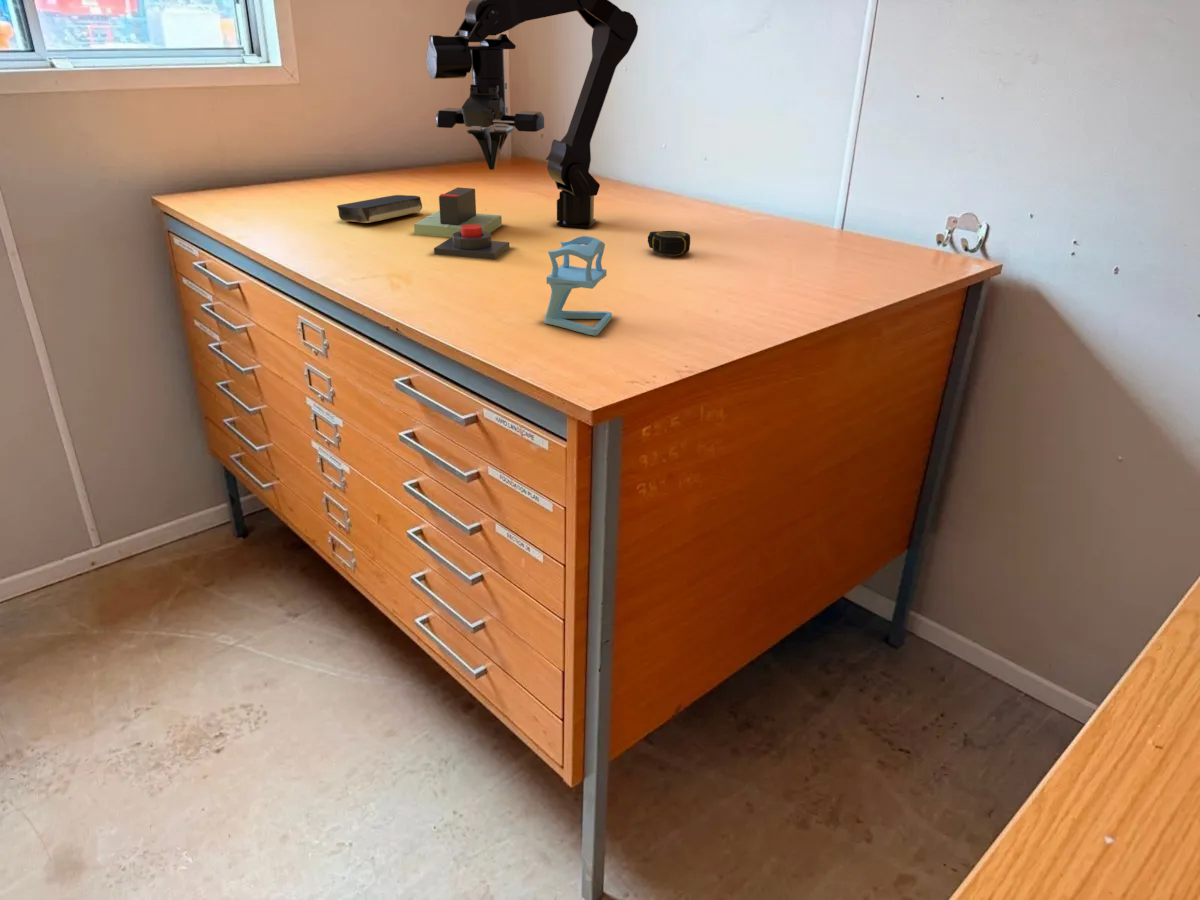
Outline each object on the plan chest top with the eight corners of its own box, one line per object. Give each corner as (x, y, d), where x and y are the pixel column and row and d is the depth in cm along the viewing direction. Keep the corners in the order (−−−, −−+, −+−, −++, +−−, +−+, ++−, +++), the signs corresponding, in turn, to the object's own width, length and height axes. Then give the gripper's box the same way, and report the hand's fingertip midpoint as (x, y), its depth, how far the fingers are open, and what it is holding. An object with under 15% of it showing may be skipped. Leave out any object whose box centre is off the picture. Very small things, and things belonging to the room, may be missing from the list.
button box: (509, 248, 155) (509, 231, 154) (494, 260, 148) (494, 242, 147) (451, 243, 157) (450, 227, 156) (434, 254, 150) (433, 237, 149)
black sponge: (363, 228, 165) (361, 209, 164) (334, 221, 170) (332, 202, 168) (427, 214, 177) (425, 196, 175) (398, 208, 182) (397, 190, 180)
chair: (557, 311, 125) (557, 227, 119) (612, 318, 123) (615, 233, 117) (538, 329, 118) (537, 241, 113) (596, 336, 116) (598, 247, 111)
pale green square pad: (503, 225, 171) (503, 213, 170) (479, 241, 159) (479, 229, 158) (440, 219, 173) (439, 208, 172) (412, 235, 162) (411, 223, 161)
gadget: (459, 213, 170) (457, 185, 167) (476, 214, 169) (475, 187, 167) (440, 223, 162) (438, 194, 160) (458, 225, 161) (456, 196, 159)
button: (485, 235, 153) (484, 225, 152) (478, 239, 150) (477, 229, 149) (465, 233, 153) (465, 223, 153) (458, 238, 150) (457, 228, 150)
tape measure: (683, 248, 158) (685, 228, 156) (693, 258, 152) (695, 237, 150) (646, 249, 157) (647, 228, 155) (655, 259, 151) (657, 238, 149)
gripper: (420, 79, 148) (427, 174, 155) (526, 83, 145) (528, 180, 152) (444, 74, 158) (450, 164, 165) (544, 77, 154) (545, 169, 161)
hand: (492, 169), depth 160 cm, fingers closed
